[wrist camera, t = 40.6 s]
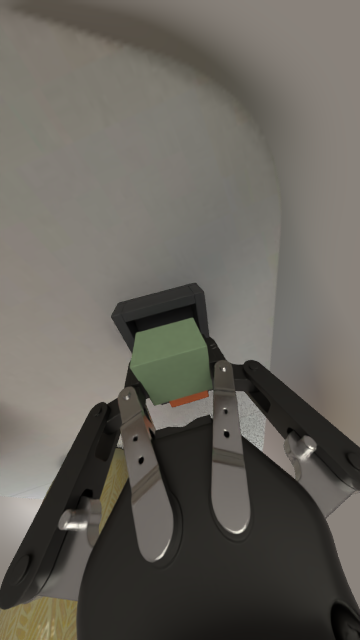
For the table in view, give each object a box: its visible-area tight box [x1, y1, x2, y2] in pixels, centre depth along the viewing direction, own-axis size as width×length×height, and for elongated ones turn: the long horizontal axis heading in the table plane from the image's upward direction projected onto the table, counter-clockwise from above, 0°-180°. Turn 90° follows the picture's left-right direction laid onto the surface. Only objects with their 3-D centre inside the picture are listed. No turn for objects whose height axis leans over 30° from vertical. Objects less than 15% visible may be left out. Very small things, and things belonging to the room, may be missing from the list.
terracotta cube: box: [169, 390, 209, 408], centre depth 19 cm, size 6×6×4 cm
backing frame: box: [111, 283, 214, 405], centre depth 18 cm, size 9×17×3 cm, turn 12°
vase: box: [0, 448, 129, 640], centre depth 23 cm, size 17×17×27 cm
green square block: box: [130, 318, 213, 406], centre depth 12 cm, size 6×6×4 cm
